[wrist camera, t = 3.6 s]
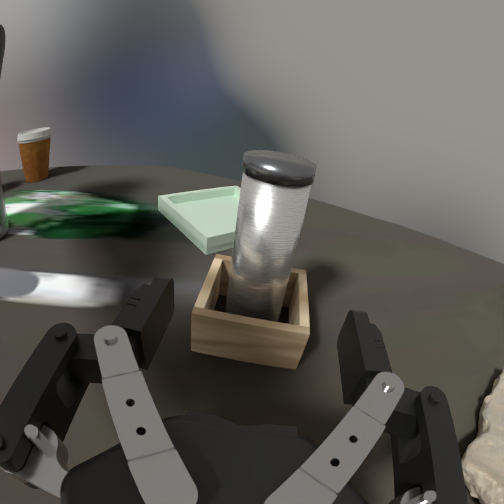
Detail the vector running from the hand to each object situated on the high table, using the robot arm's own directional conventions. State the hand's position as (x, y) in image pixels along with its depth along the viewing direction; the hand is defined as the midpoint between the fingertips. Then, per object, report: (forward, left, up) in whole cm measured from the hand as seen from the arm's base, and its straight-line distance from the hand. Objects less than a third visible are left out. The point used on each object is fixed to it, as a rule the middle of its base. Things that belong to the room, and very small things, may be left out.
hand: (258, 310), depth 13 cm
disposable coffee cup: (-10, +70, -12) cm, 72 cm away
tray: (+19, +29, -11) cm, 36 cm away
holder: (+8, +8, -11) cm, 16 cm away
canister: (+8, +8, -12) cm, 16 cm away
